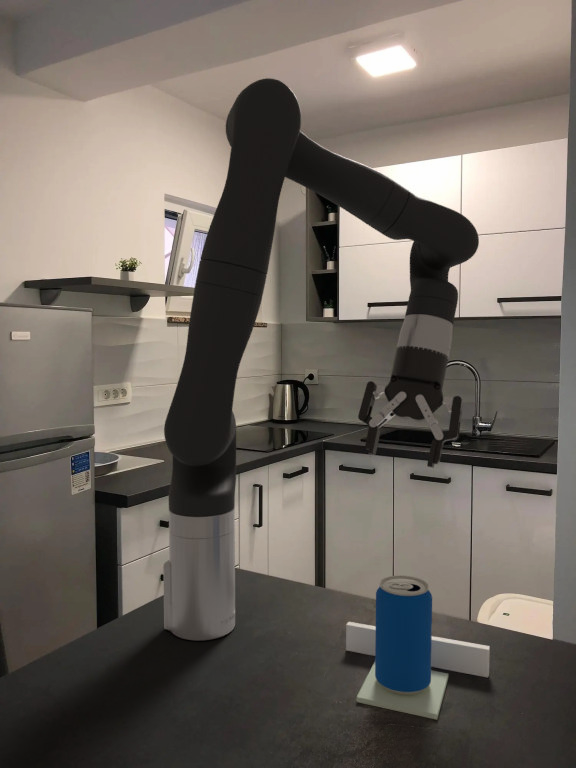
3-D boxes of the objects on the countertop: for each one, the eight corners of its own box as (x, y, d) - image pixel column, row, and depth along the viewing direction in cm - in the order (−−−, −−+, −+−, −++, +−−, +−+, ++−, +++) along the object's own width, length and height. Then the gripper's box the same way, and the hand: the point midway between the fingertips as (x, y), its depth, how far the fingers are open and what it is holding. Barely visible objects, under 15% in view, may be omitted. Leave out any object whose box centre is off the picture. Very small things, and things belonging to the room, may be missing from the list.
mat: (356, 702, 72) (356, 696, 72) (375, 664, 80) (375, 659, 80) (437, 719, 68) (437, 714, 68) (448, 678, 77) (448, 673, 77)
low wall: (346, 650, 84) (346, 624, 83) (348, 646, 85) (348, 621, 84) (488, 677, 77) (488, 649, 77) (488, 673, 78) (489, 646, 78)
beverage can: (431, 701, 71) (433, 597, 70) (373, 695, 72) (374, 593, 71) (429, 671, 77) (431, 576, 76) (376, 666, 78) (377, 572, 77)
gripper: (370, 337, 91) (346, 448, 89) (471, 352, 86) (448, 469, 84) (380, 350, 98) (358, 452, 96) (474, 364, 93) (453, 473, 91)
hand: (400, 460), depth 90 cm, fingers open, 8 cm apart
